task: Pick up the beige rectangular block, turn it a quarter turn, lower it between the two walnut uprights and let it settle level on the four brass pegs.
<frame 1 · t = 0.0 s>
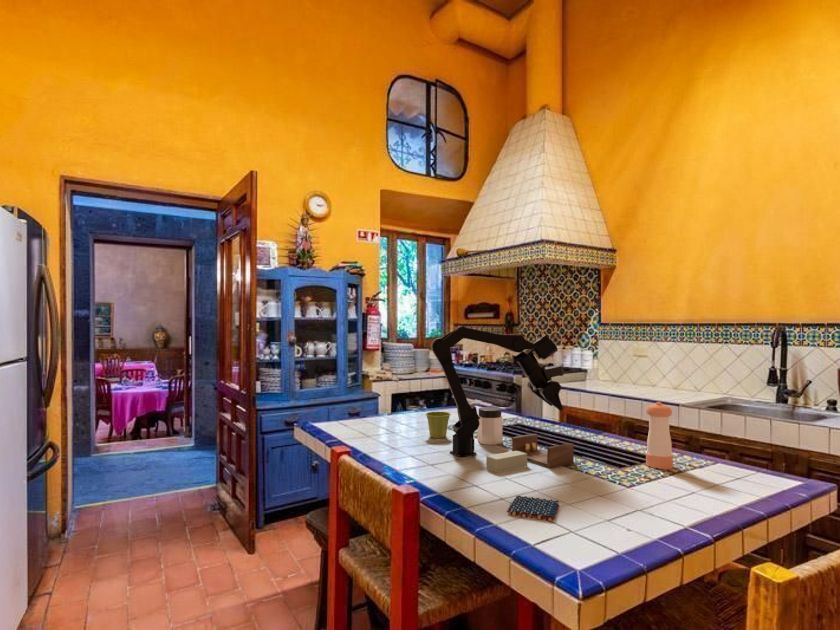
hand: (556, 407, 166), 15 cm above the kitchen island, tool tilted 35°, fingers open, 9 cm apart
shelf frame: (542, 459, 158), on the kitchen island
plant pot: (438, 437, 189), on the kitchen island
pepper shaker: (659, 466, 151), on the kitchen island
jar: (489, 442, 181), on the kitchen island
beige rectangular block: (507, 468, 149), on the kitchen island
woven mat: (533, 513, 115), on the kitchen island
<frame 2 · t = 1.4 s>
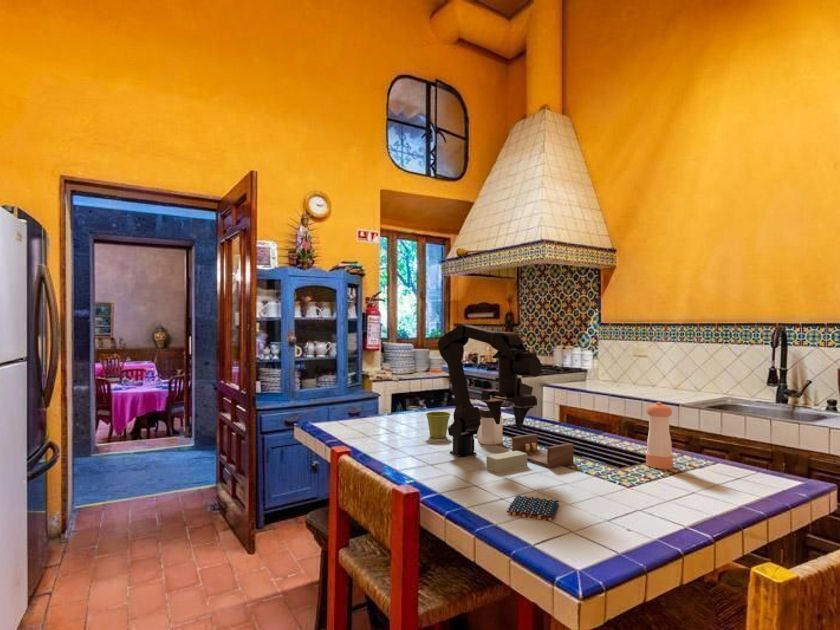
hand: (508, 426, 150), 12 cm above the kitchen island, tool pointing down, fingers open, 9 cm apart
nothing on the kitchen island moved.
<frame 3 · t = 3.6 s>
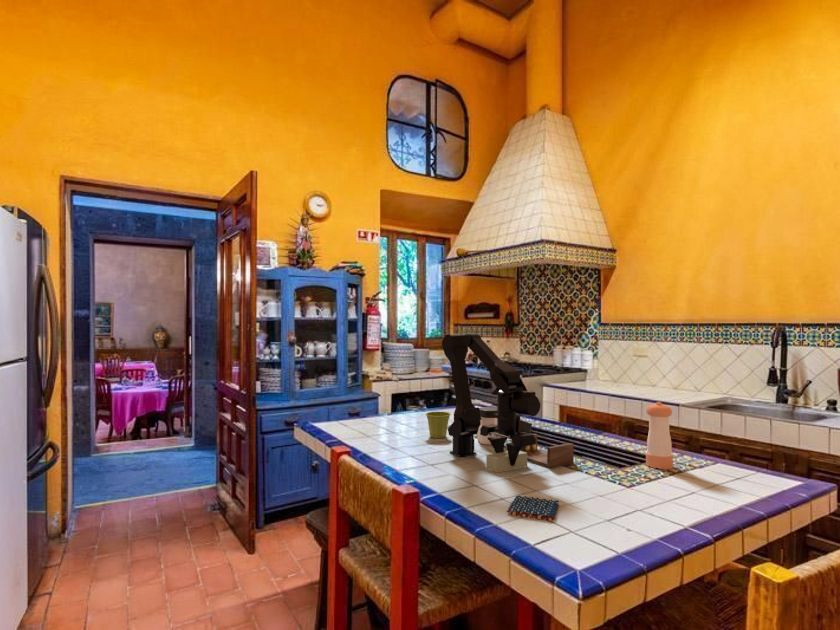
hand: (507, 463, 149), 1 cm above the kitchen island, tool pointing down, fingers closed on beige rectangular block, 4 cm apart
beige rectangular block: (507, 467, 149), on the kitchen island, touching gripper
everything else where it was.
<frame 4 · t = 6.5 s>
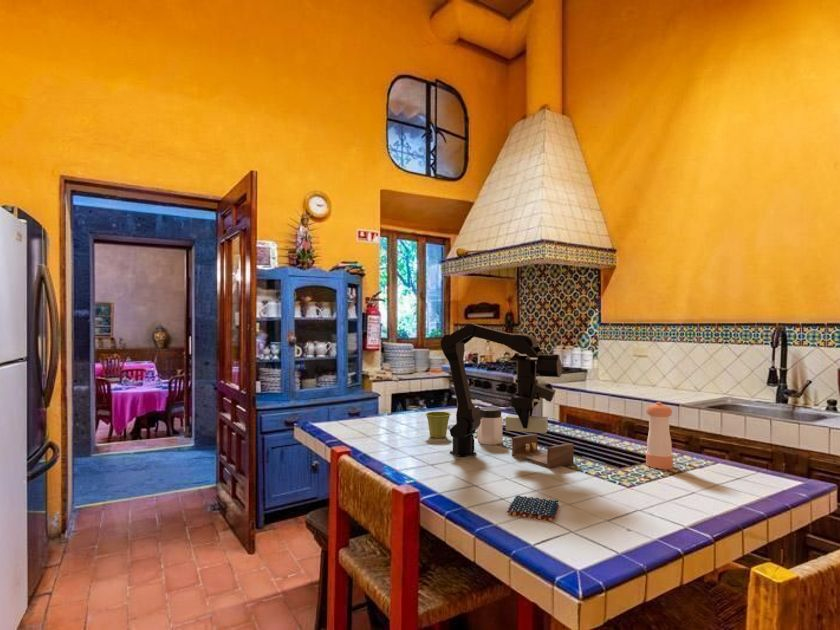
hand: (526, 426, 154), 11 cm above the kitchen island, tool pointing down, fingers closed on beige rectangular block, 4 cm apart
beige rectangular block: (526, 430, 154), point 10 cm above the kitchen island, touching gripper
everything else where it was.
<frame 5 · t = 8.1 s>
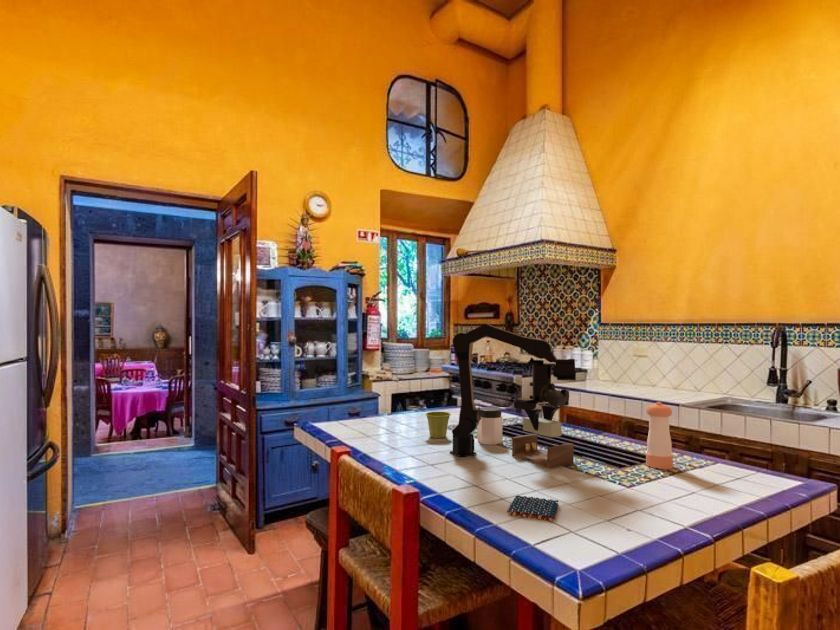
hand: (541, 429, 158), 9 cm above the kitchen island, tool pointing down, fingers closed on beige rectangular block, 4 cm apart
beige rectangular block: (541, 432, 158), point 8 cm above the kitchen island, touching gripper
everything else where it was.
when the fingers open (6 cm above the kitchen island, at t = 9.4 s): beige rectangular block drops 1 cm, resting on shelf frame.
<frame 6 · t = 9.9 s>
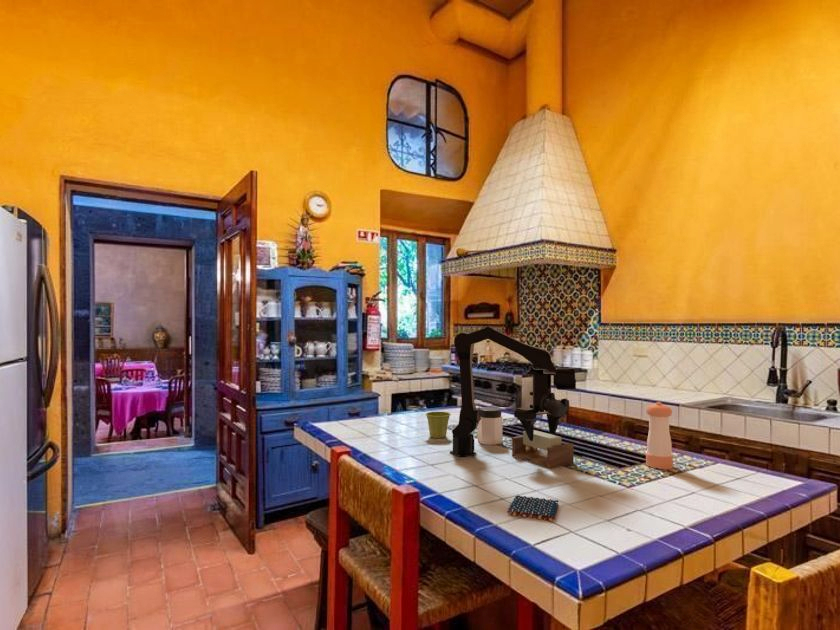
hand: (541, 438, 158), 6 cm above the kitchen island, tool pointing down, fingers open, 9 cm apart
beige rectangular block: (541, 446, 158), point 4 cm above the kitchen island, touching shelf frame
everything else where it was.
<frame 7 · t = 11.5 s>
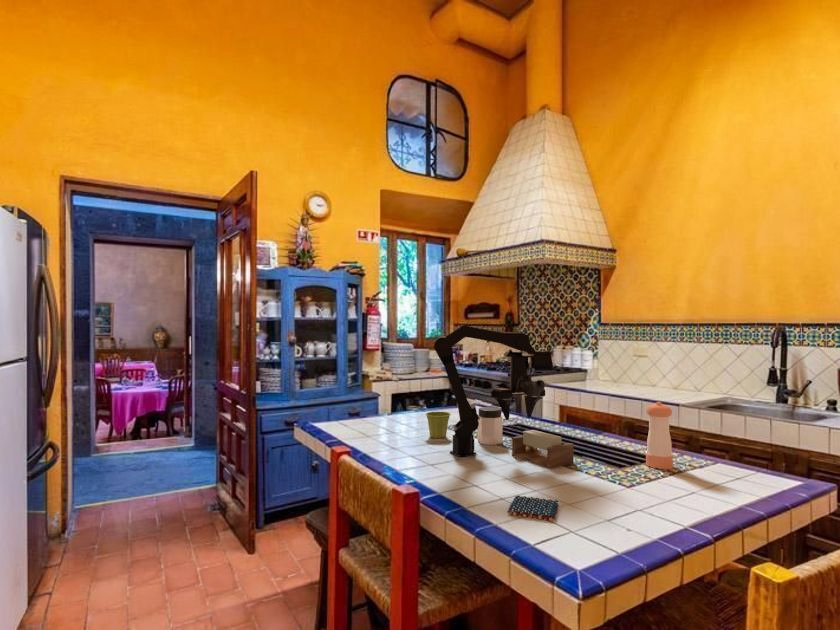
hand: (518, 418, 164), 12 cm above the kitchen island, tool pointing down, fingers open, 9 cm apart
nothing on the kitchen island moved.
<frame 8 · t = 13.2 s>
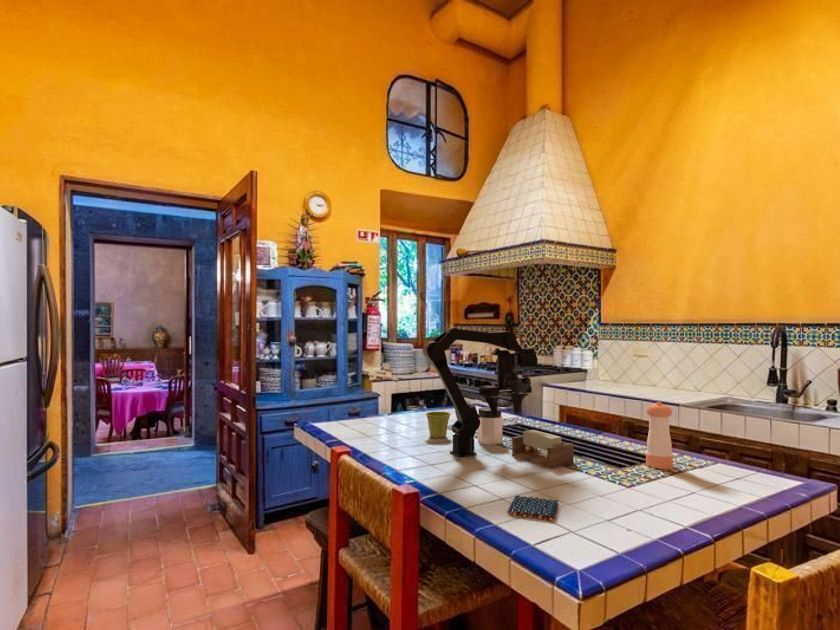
hand: (505, 415, 168), 12 cm above the kitchen island, tool pointing down, fingers open, 9 cm apart
nothing on the kitchen island moved.
at the end: beige rectangular block 0.1 cm off-centre on the shelf frame, point 4.0 cm above the shelf frame's base; beige rectangular block tilted 0°; the gripper is holding nothing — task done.
